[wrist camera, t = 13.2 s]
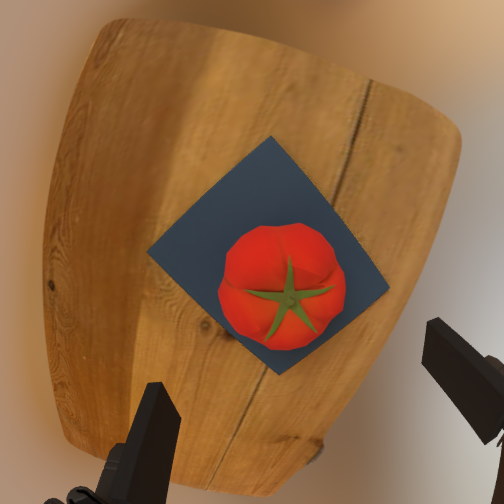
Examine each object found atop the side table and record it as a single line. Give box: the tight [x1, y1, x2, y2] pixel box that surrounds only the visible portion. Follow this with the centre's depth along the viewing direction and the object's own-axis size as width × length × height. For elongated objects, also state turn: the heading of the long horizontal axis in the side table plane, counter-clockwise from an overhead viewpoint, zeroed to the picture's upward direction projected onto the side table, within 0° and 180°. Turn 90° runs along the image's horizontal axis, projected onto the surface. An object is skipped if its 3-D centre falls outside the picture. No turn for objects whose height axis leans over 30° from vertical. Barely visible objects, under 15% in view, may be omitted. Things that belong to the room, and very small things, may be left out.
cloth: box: [147, 136, 390, 375], centre depth 28 cm, size 20×16×1 cm
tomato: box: [218, 223, 346, 350], centre depth 24 cm, size 11×11×8 cm
